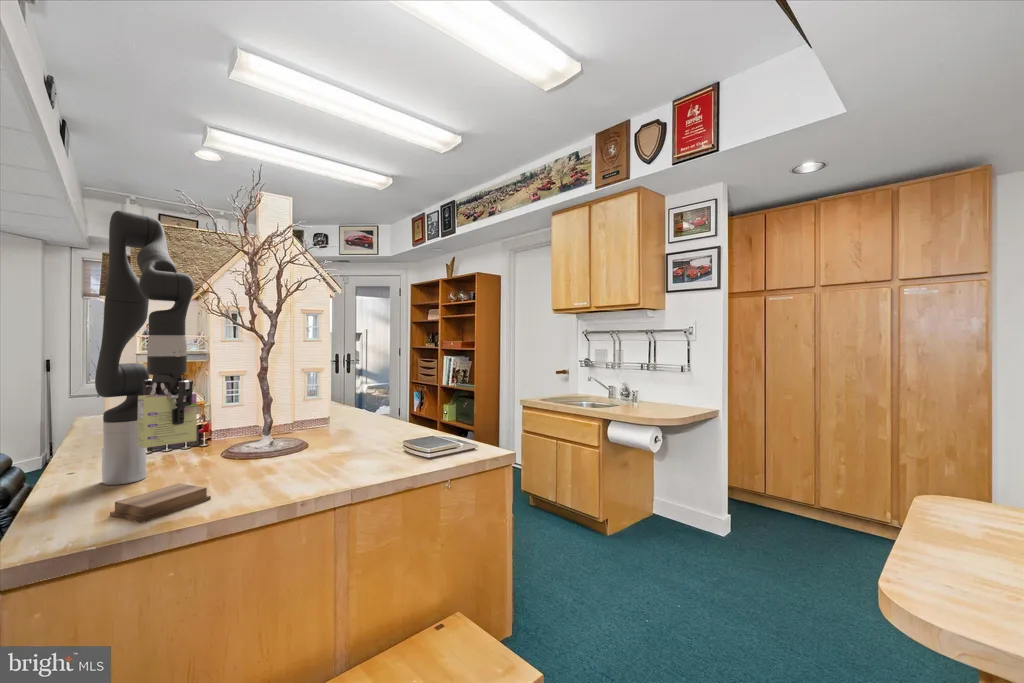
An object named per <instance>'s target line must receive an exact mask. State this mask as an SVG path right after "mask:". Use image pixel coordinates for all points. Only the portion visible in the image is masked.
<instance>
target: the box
mask: <svg viewBox="0 0 1024 683" xmlns="http://www.w3.org/2000/svg"><path fill="white" fill-rule="evenodd" d="M177 395H178V394H177ZM173 396H175V395H173ZM186 398H187V396H185V397H184V400H185V401H186ZM197 399H198V398H197V393H196V392H192V404H191V405H189V406H186V407H185V408H184V423H183V424H179V425H173V424H172V409H173V407H172V405H171V402H170V401H168V400H167V397H166V395H150V394H149V395H143V396H138V422H137V432H138V434H137V444H138V445H139V446H140V447H143V448H146V449H148V448H153V447H160V446H167V445H175V444H183V443H189V442H190V443H191V442H196V441H197V417H198V416H197V404H198V403H197ZM176 402H177V403H178V399H177V400H176Z"/></svg>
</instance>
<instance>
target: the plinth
mask: <svg viewBox="0 0 1024 683" xmlns="http://www.w3.org/2000/svg"><path fill="white" fill-rule="evenodd" d="M207 488H208V487H205V486H204V487H203V486H198V485H191V484H184V483H175V484H173V485H170V486H165V487H162V488H161V487H160V488H159V489H155V490H152V491H148V492H144V493H141V494H137V495H135V496H131V497H128V498H123V499H120V500H117V501H114V510H113V511H110V512H109V516H110V517H114V518H120V519H123V520H129V521H132V522H137V523H145V522H148V521H151V520H154V519H157V518H160V517H163V516H165V515H168V514H172V513H174V512H177V511H180V510H183V509H186V508H190V507H192V506H196V505H198V504H201V503H204V502H206V501H209V500H212V499H211V498H212V497H211V495H207V494H208V492H207V490H208V489H207Z"/></svg>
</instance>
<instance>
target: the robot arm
mask: <svg viewBox="0 0 1024 683" xmlns="http://www.w3.org/2000/svg"><path fill="white" fill-rule="evenodd" d="M109 219H110V222H109V228H108V231H109V232H108V233H109V234H108V237H109V238H108V244H109V245H108V270H107V272H108V273H107V280H106V288H105V296H104V297H105V298H104V304H103V305H104V306H103V323H102V324H103V325H102V326H103V327H102V335H101V336H102V338H101V344H100V349H99V355H98V360H97V366H96V370H95V377H94V380H95V381H94V385H95V386H94V387H95V390H96V393H97V394H98V396H100V397H102V398H117V397H126V398H125V400H123V402H122V403H120V404H118V405H117V406H115V407H112V408H109V409H107V410H105V411H104V412H103V414H102V416H103V417H102V418H103V419H102V422H103V424H102V425H103V426H102V430H103V433H102V436H103V438H102V439H103V440H102V442H103V447H102V450H101V451H102V455H101V456H102V458H101V459H102V470H101V472H102V473H101V475H102V477H101V479H102V480H101V481H102V484H103V485H106V486H107V485H108V486H117V485H125V484H131V483H134V482H139V481H142V480H143V479H146V477H147V448H143V447H140V446H139V445H138V444H137V434H138V432H137V422H138V396H143V395H166V397H167V400H168V401H170V402H171V405H172V407H173V409H172V424H173V425H179V424H183V423H184V408H185V407H186V406H189V405H191V404H192V393H193V385H194V382H193V380H183V379H184V378H183V375H184V374H186V373H187V371H188V368H187V366H188V361H187V360H188V356H187V354H188V352H187V351H188V350H187V349H188V348H187V347H188V345H187V340H186V339H187V338H186V320H187V314H188V310H189V306H190V303H191V301H192V298H193V295H194V292H195V282H194V280H193V278H192V277H191V276H190V274H189V275H188V274H187V273H185V272H184V273H183V272H178V270H177V267H176V265H175V263H174V261H173V260H172V257H171V256H170V254H169V249H168V244H167V238H166V233H165V229H164V226H163V224H162V223H161V221H160V220H158V219H157V218H155V217H152V216H148V215H144V214H138V213H134V212H130V211H129V212H128V211H123V210H116V211H114V212H112V214H111V217H110V218H109ZM127 247H128V248H136V249H139V251H138V253H137V255H136V263H137V266H138V269H139V270H140V272H141V275H140V276H139V277H138V276H137V274H136V273H135V272H134V269H133V267H132V266H131V264H130V262H129V259H128V255H127V249H126V248H127ZM150 300H151V301H163V302H164V301H165V302H174V303H173V306H172V307H170V308H168V309H161V310H154V311H151V312H150V313H149V302H150ZM148 313H149V314H148ZM147 319H148V339H147V345H146V352H147V354H146V355H147V356H146V359H147V361H146V362H147V363H146V365H145V364H143V363H141V362H140V363H139V362H135V363H134V362H133V363H120V360H121V357H122V353H123V352H124V349H125V348H126V346H127V345H128V343H129V342H130V340H132V339H133V337H134V336H136V334H137V333H138V332H139V331H140V330H141V328H142V327H143V326H144V325H145V324H146V321H147ZM150 376H152V379H150ZM177 394H178V395H177ZM173 395H175V396H173ZM185 396H187V398H186V401H185V400H184V397H185ZM177 399H178V403H177V402H176V400H177Z"/></svg>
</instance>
